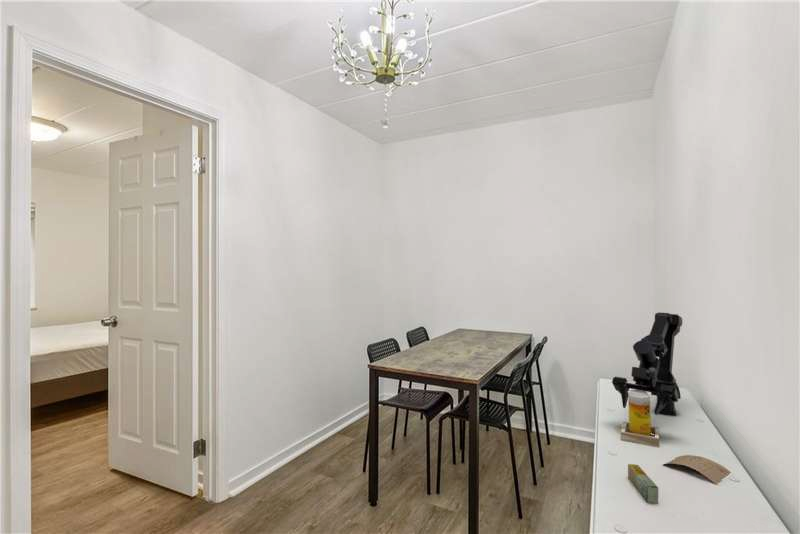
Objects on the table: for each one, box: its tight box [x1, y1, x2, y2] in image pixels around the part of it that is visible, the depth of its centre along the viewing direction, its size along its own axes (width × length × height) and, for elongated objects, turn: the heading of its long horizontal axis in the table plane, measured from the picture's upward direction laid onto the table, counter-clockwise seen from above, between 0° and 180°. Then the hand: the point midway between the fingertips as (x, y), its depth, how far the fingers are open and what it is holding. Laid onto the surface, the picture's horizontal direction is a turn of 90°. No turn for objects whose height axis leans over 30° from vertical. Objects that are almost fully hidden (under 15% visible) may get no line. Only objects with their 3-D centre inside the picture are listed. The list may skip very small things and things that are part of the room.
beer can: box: [627, 389, 652, 437], centre depth 130 cm, size 6×6×15 cm
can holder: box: [620, 421, 660, 447], centre depth 130 cm, size 10×10×2 cm
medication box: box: [627, 463, 659, 505], centre depth 100 cm, size 12×3×4 cm, turn 170°
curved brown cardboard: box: [666, 454, 732, 485], centre depth 109 cm, size 14×10×3 cm
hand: (639, 410), depth 130 cm, fingers open, 9 cm apart
